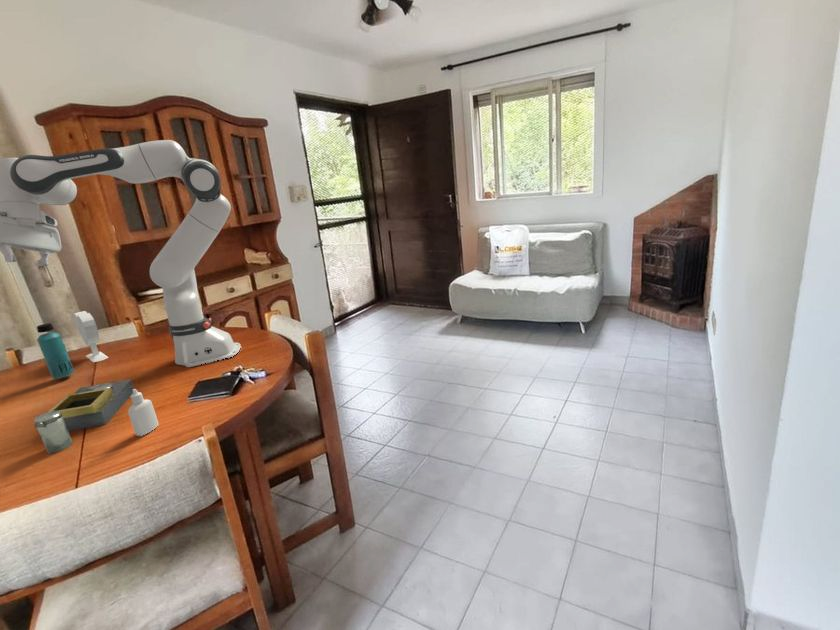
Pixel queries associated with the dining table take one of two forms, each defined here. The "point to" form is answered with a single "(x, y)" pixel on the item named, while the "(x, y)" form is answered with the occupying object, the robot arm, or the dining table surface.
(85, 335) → the white angular piece
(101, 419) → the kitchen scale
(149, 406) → the eye dropper bottle
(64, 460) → the dining table surface
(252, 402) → the dining table surface
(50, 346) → the beverage bottle
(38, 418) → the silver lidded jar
